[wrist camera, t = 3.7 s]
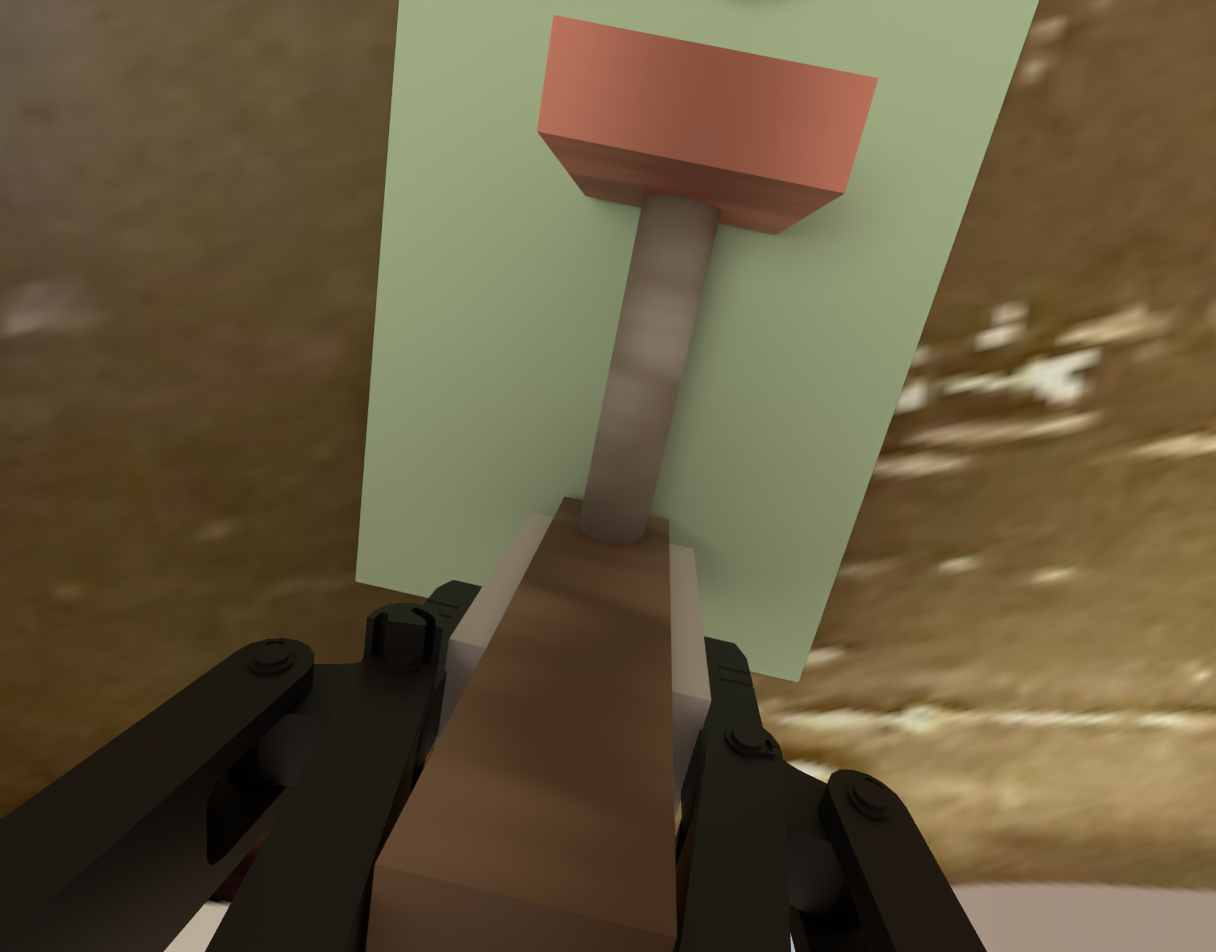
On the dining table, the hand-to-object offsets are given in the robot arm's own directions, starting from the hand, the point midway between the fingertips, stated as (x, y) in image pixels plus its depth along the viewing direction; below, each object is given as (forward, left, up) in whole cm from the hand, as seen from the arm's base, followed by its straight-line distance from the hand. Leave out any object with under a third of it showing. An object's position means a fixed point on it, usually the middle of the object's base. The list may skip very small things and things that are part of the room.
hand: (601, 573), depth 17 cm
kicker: (0, +5, -1) cm, 5 cm away
